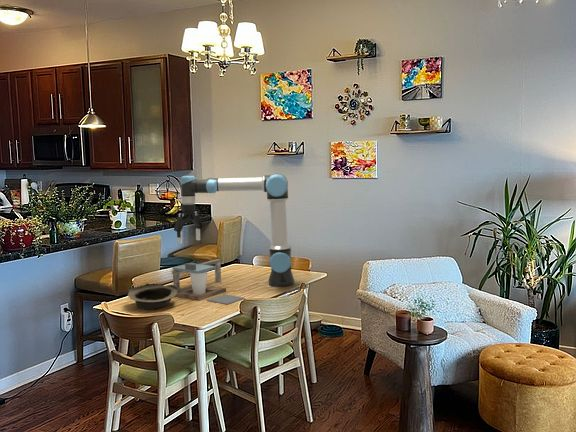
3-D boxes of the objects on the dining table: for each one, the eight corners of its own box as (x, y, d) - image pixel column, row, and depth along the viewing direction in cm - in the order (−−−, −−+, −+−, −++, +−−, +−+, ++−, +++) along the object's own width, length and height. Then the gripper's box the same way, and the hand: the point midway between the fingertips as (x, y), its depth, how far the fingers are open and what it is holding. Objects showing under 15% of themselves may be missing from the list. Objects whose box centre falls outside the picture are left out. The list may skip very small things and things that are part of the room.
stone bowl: (157, 296, 295) (157, 279, 293) (188, 307, 279) (188, 290, 278) (117, 305, 276) (117, 288, 274) (147, 318, 260) (148, 299, 259)
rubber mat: (244, 298, 289) (244, 297, 289) (227, 304, 277) (227, 303, 277) (224, 294, 296) (224, 294, 296) (207, 300, 285) (206, 299, 285)
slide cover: (215, 268, 298) (215, 260, 298) (197, 273, 287) (197, 265, 286) (190, 265, 308) (190, 257, 308) (172, 269, 297) (172, 261, 296)
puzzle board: (245, 285, 318) (244, 262, 316) (198, 300, 285) (197, 275, 284) (216, 280, 330) (216, 258, 328) (168, 295, 298) (168, 270, 296)
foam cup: (209, 292, 301) (209, 269, 300) (205, 297, 292) (205, 273, 291) (193, 292, 302) (192, 269, 301) (188, 296, 293) (187, 273, 292)
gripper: (199, 201, 314) (200, 238, 317) (166, 205, 294) (167, 244, 297) (209, 202, 310) (210, 239, 312) (176, 205, 290) (177, 245, 292)
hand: (189, 241), depth 305 cm, fingers open, 13 cm apart
